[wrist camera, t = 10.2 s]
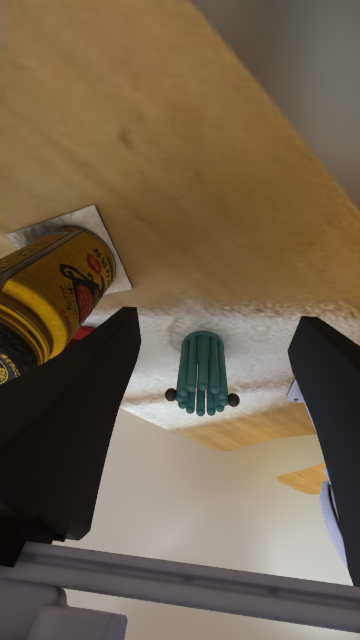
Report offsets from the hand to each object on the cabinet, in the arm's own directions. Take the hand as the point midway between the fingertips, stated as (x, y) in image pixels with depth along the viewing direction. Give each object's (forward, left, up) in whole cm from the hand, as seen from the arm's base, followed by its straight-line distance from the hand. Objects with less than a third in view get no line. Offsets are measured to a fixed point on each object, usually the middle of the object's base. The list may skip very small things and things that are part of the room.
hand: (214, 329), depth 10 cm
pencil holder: (0, +8, -6) cm, 11 cm away
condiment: (+12, +1, -10) cm, 16 cm away
